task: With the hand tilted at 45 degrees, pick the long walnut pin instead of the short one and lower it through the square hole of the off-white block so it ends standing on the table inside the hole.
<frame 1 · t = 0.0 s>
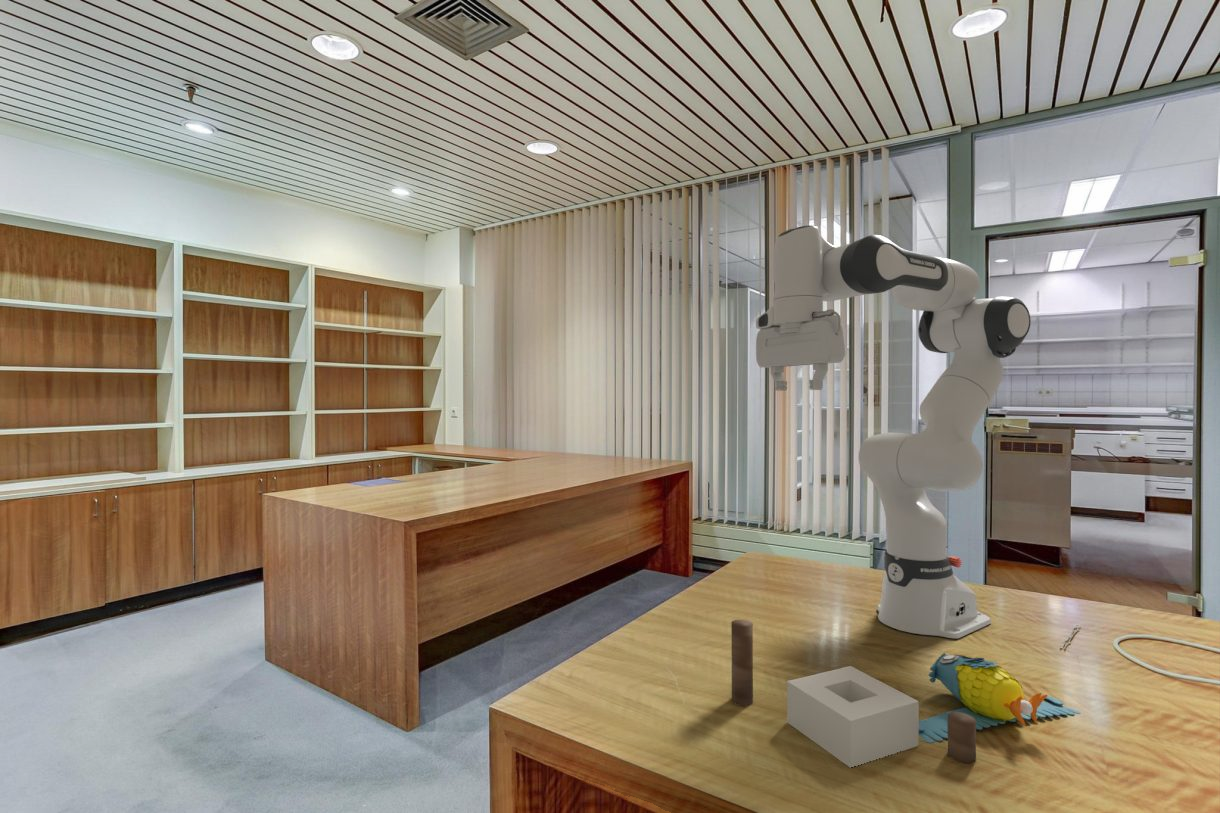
hand: (797, 390, 114), 48 cm above the table, tool pointing down, fingers open, 8 cm apart
long pin: (742, 700, 95), on the table
blue yellow bird figure: (983, 719, 91), on the table
hole block: (850, 733, 86), on the table
short pin: (961, 756, 80), on the table
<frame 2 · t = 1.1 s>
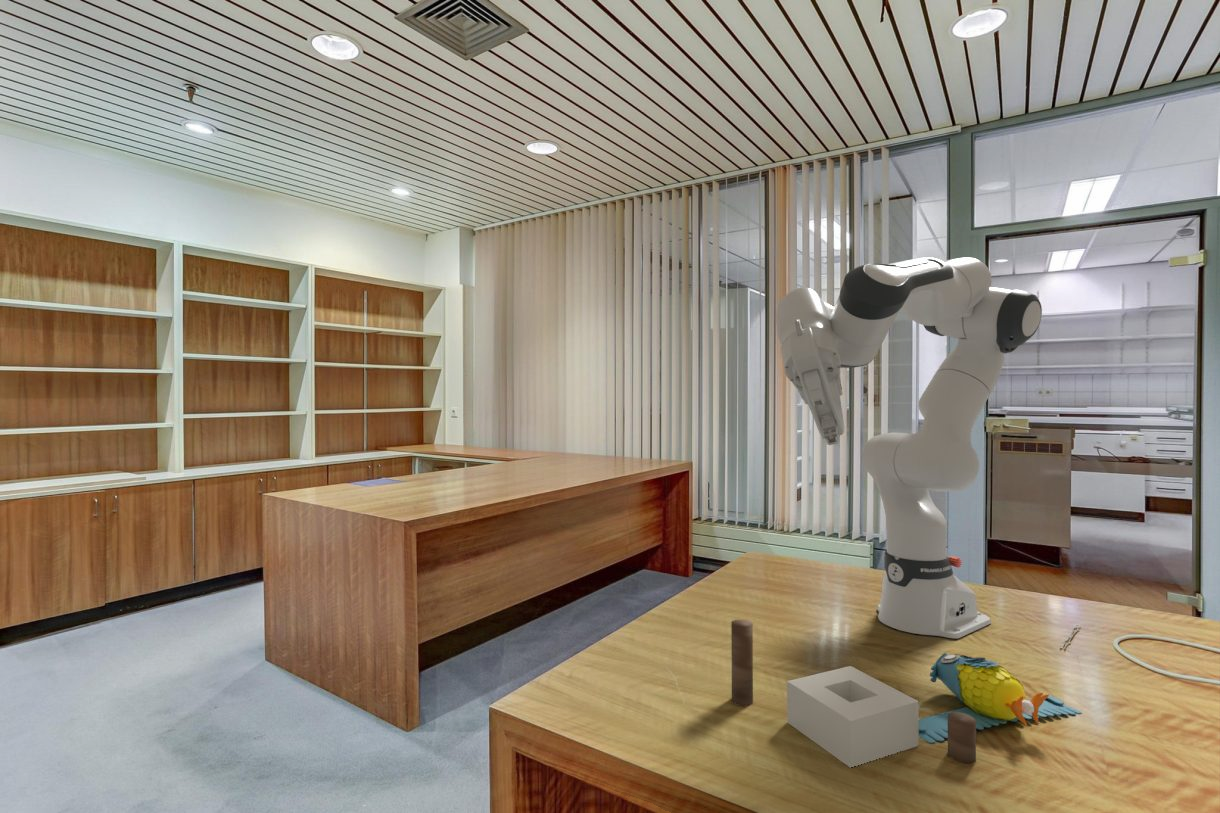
hand: (825, 422, 92), 43 cm above the table, tool tilted 45°, fingers open, 8 cm apart
nothing on the table moved.
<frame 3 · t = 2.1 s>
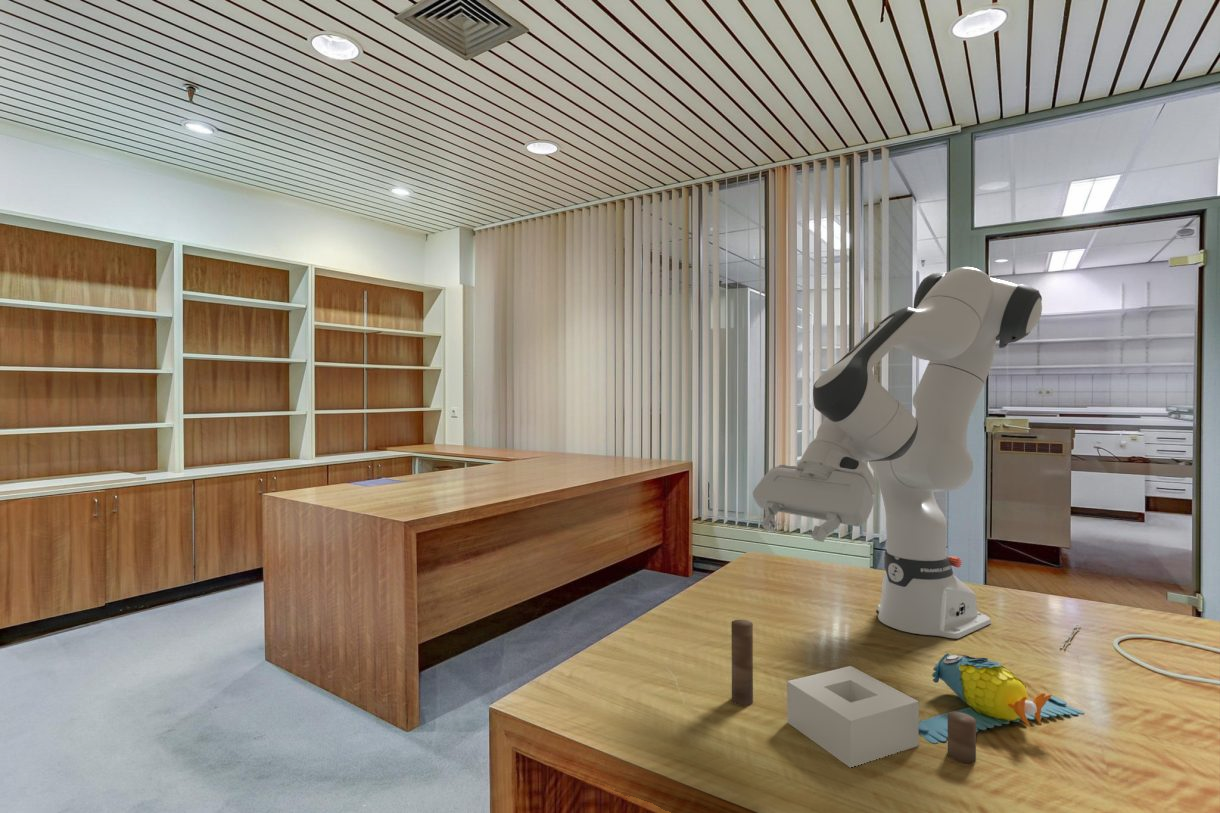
hand: (790, 533, 101), 24 cm above the table, tool tilted 45°, fingers open, 8 cm apart
nothing on the table moved.
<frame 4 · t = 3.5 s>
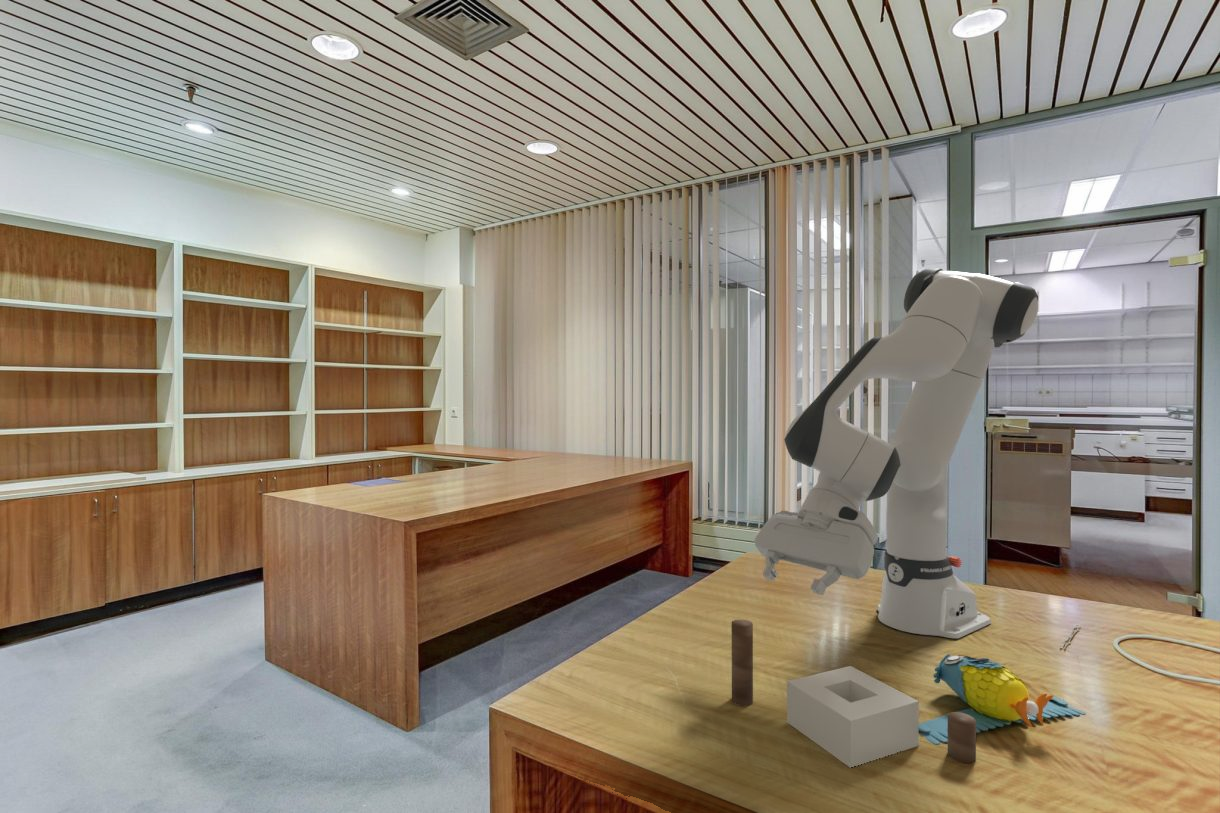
hand: (791, 584, 101), 16 cm above the table, tool tilted 45°, fingers open, 8 cm apart
nothing on the table moved.
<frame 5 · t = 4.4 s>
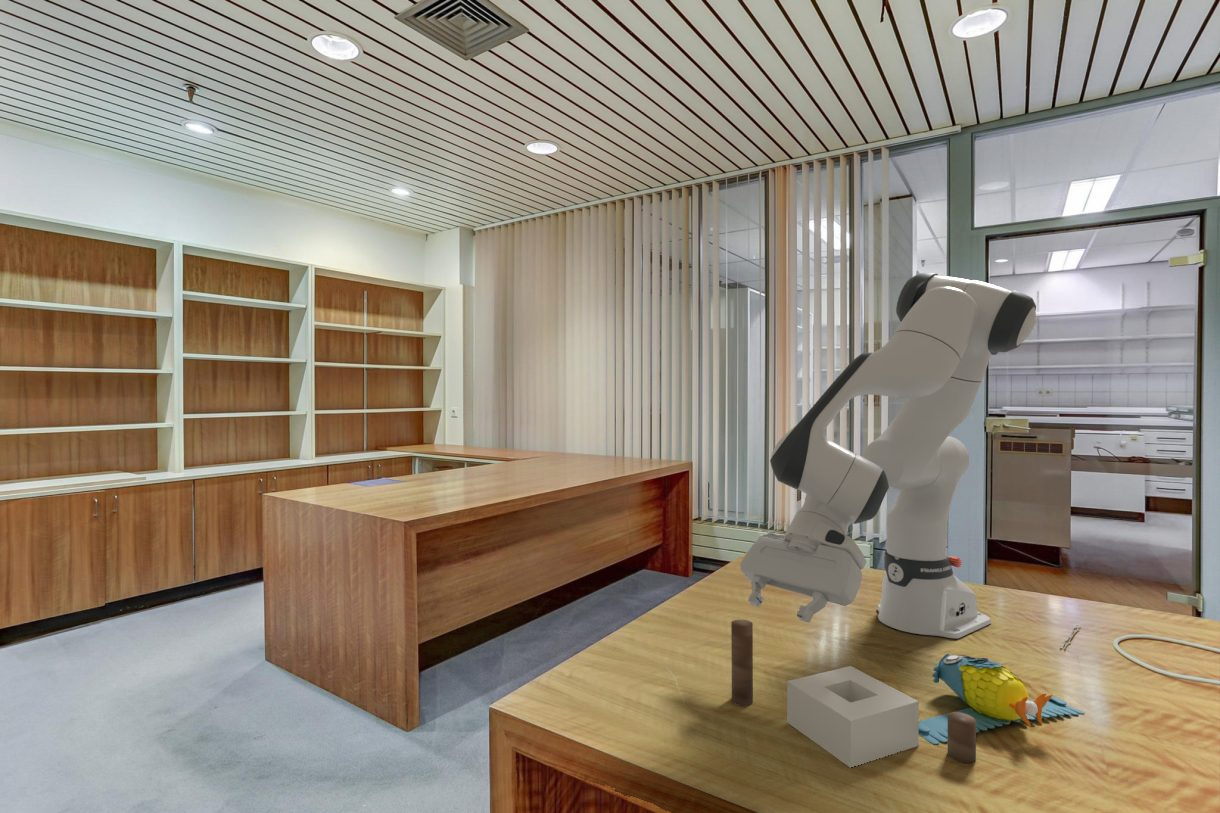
hand: (777, 611, 98), 13 cm above the table, tool tilted 45°, fingers open, 8 cm apart
nothing on the table moved.
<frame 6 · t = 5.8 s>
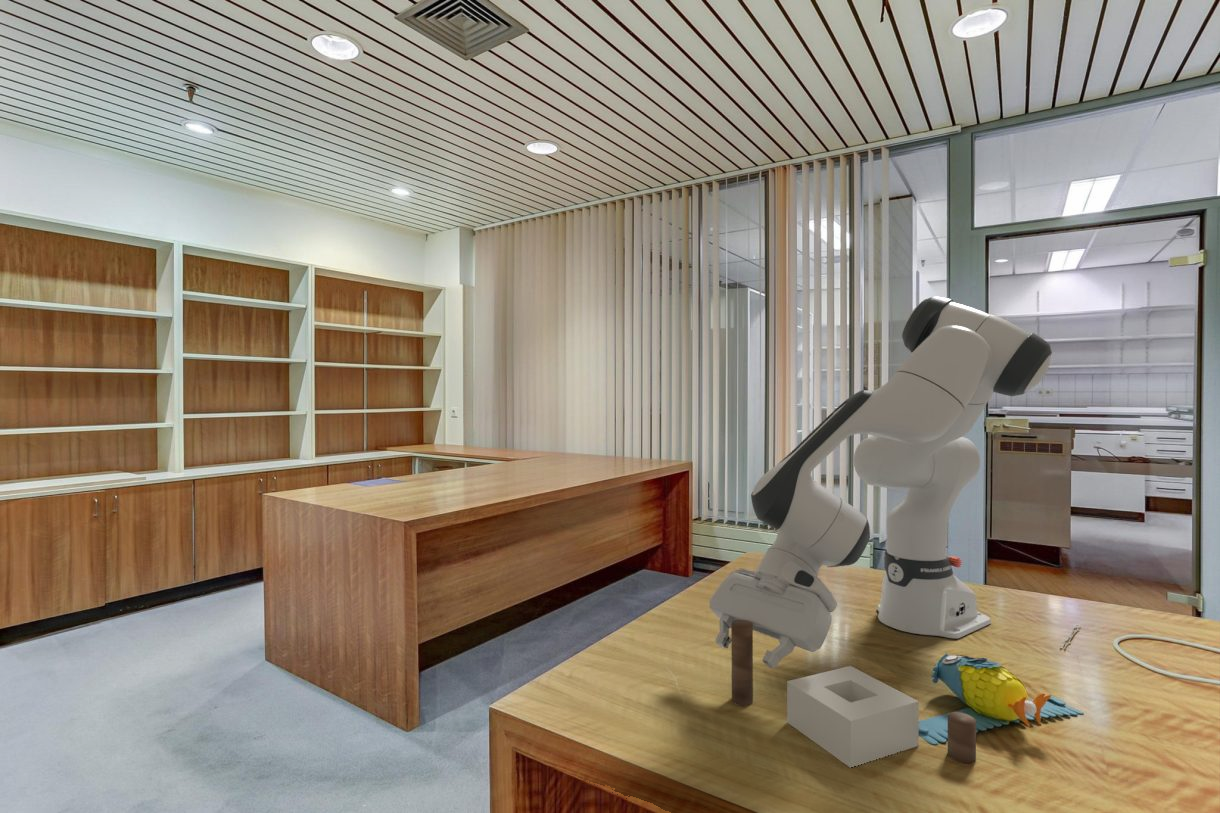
hand: (743, 654, 95), 7 cm above the table, tool tilted 45°, fingers open, 8 cm apart
nothing on the table moved.
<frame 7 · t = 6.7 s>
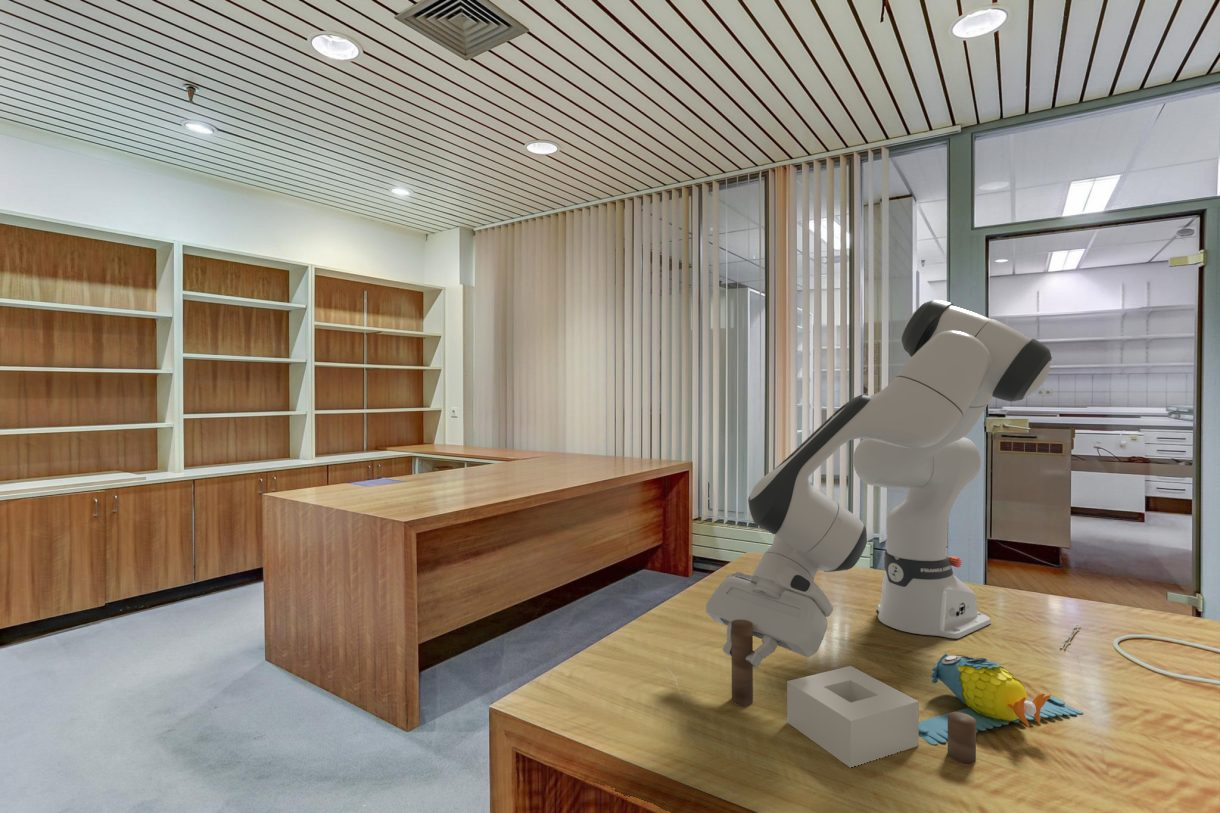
hand: (739, 659, 95), 7 cm above the table, tool tilted 45°, fingers closed on long pin, 3 cm apart
long pin: (742, 700, 95), on the table, touching gripper
everything else where it was.
when the fingers open (9 cm above the table, at t = 12.7 s): long pin drops 2 cm, resting in hole block.
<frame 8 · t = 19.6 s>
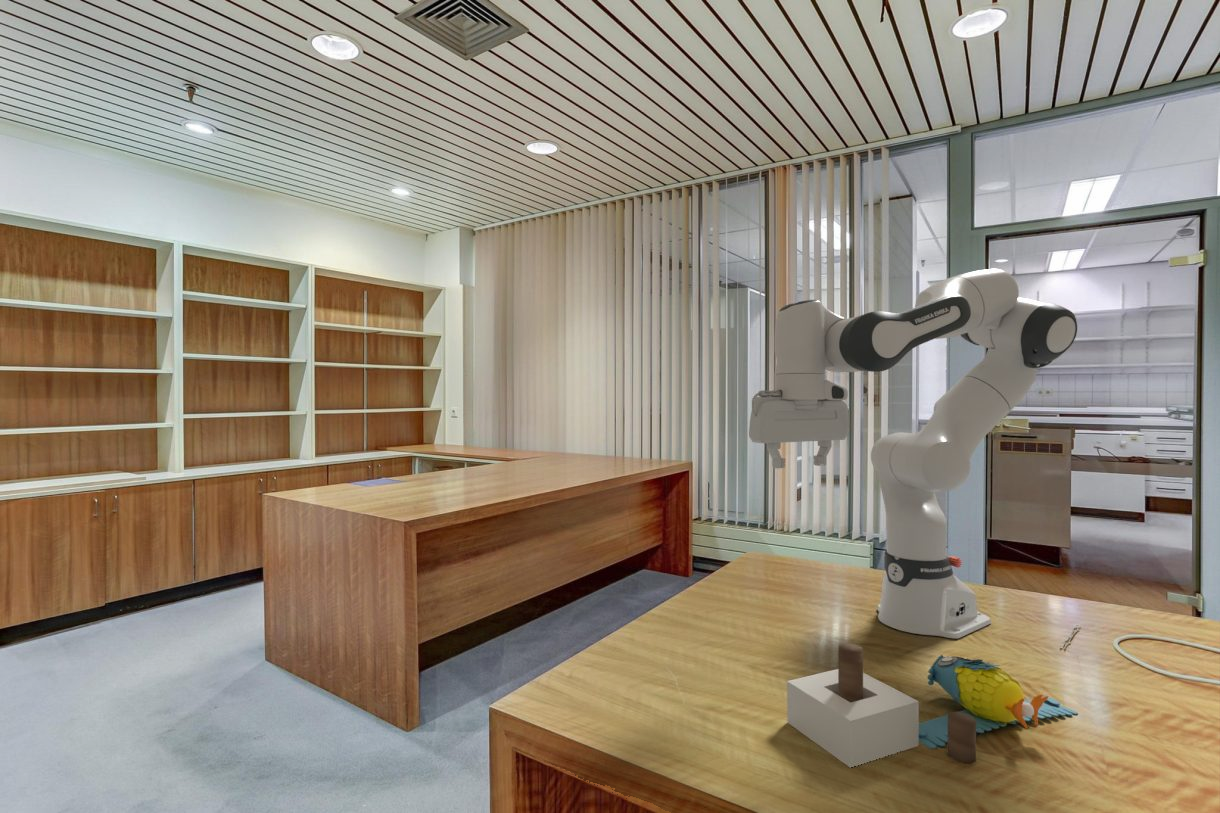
hand: (799, 466, 112), 34 cm above the table, tool pointing down, fingers open, 8 cm apart
long pin: (850, 733, 86), resting in hole block
at the end: long pin 0.0 cm off-centre on the hole block, point 0.0 cm above the hole block's base; long pin tilted 0°; short pin moved 0.0 cm from its start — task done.
